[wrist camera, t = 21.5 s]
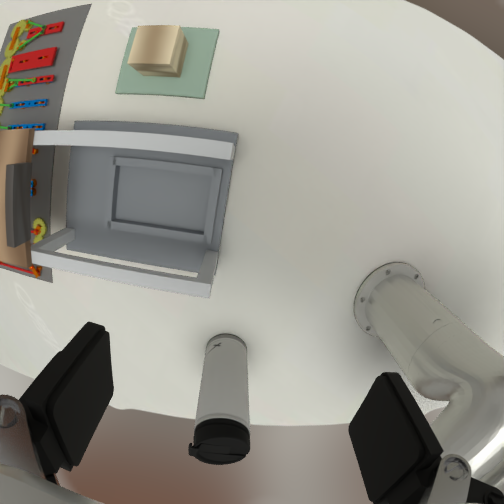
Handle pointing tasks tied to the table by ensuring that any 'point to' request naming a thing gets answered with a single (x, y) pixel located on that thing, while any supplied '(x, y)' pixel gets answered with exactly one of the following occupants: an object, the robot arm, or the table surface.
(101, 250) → the grey frame
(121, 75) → the rubber mat
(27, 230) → the sliding cover
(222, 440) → the travel mug
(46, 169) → the gear board
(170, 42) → the maple block
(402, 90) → the table surface
